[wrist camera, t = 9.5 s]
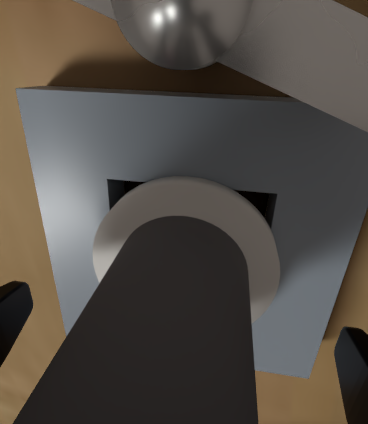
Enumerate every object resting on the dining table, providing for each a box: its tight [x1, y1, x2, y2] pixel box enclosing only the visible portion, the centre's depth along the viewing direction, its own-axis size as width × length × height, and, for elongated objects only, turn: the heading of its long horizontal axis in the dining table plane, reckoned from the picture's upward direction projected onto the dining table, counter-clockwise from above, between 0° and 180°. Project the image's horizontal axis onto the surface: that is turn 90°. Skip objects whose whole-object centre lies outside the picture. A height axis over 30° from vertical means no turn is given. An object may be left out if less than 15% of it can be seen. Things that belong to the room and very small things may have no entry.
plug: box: [13, 176, 280, 424], centre depth 8 cm, size 6×6×9 cm
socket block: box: [16, 86, 368, 379], centre depth 11 cm, size 11×11×2 cm
